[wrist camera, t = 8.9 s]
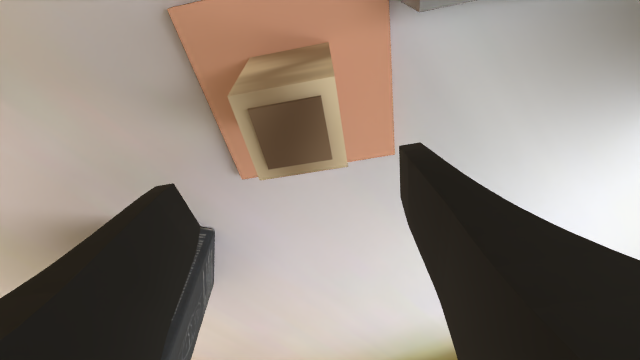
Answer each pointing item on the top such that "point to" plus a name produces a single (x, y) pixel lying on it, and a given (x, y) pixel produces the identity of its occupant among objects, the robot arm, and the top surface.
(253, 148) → the label block
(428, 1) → the tray
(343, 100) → the mat
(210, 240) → the box
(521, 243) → the robot arm
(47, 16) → the top surface
